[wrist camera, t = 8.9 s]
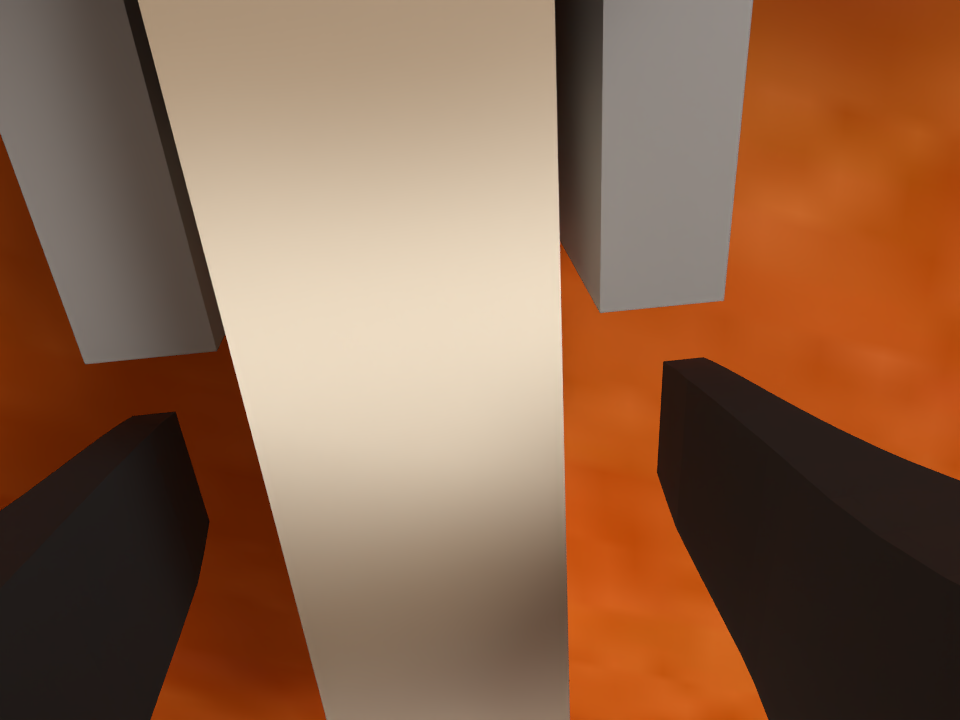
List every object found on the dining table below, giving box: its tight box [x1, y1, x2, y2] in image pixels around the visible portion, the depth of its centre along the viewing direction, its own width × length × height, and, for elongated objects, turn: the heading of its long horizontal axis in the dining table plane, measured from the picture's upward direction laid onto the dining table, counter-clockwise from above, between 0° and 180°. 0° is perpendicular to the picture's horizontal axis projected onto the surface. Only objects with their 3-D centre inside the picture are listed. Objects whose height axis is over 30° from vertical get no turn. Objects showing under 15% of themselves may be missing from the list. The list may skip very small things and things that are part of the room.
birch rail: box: [138, 0, 570, 720], centre depth 11 cm, size 14×3×6 cm, turn 4°
